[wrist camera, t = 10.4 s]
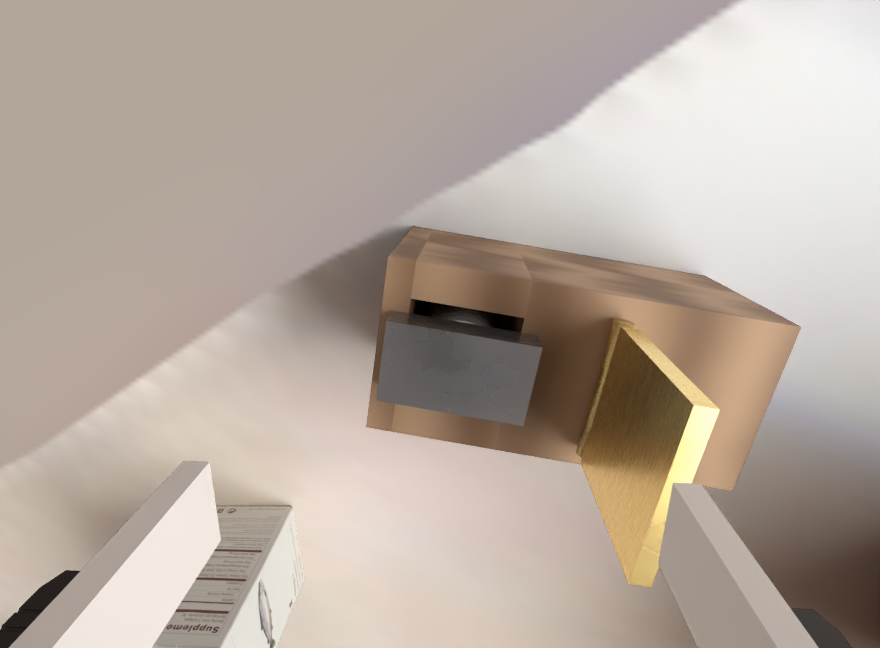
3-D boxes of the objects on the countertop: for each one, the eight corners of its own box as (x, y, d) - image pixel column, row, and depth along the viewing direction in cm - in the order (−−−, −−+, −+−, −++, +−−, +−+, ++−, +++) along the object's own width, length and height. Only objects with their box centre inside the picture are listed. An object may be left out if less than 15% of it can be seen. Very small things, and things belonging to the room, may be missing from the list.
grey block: (406, 324, 34) (375, 400, 24) (414, 267, 33) (386, 320, 22) (508, 342, 34) (523, 426, 24) (520, 285, 33) (542, 347, 22)
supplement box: (308, 576, 43) (243, 742, 31) (222, 574, 43) (126, 736, 31) (296, 503, 40) (221, 651, 28) (206, 502, 41) (95, 647, 29)
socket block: (395, 353, 35) (366, 426, 26) (413, 226, 33) (387, 256, 23) (663, 400, 35) (732, 490, 26) (705, 276, 32) (801, 327, 23)
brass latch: (574, 447, 25) (627, 583, 17) (611, 317, 23) (692, 405, 15) (591, 450, 25) (652, 587, 17) (630, 320, 23) (721, 409, 15)
